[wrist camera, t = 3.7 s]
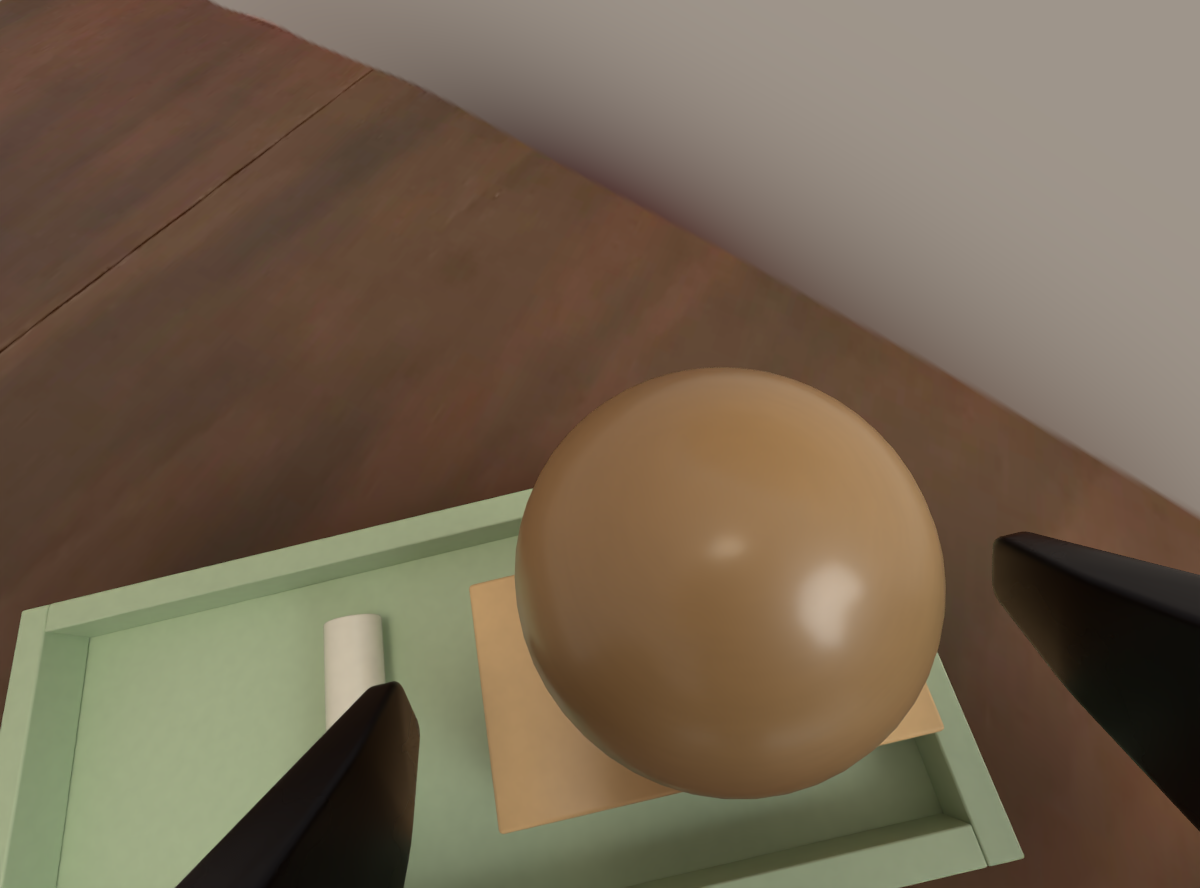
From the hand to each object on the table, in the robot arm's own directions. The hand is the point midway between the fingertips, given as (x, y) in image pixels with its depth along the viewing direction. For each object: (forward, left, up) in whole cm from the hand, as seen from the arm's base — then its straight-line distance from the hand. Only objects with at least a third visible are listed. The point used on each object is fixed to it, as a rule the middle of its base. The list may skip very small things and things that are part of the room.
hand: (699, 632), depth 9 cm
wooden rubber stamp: (0, 0, -8) cm, 8 cm away
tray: (+4, +4, -9) cm, 10 cm away
